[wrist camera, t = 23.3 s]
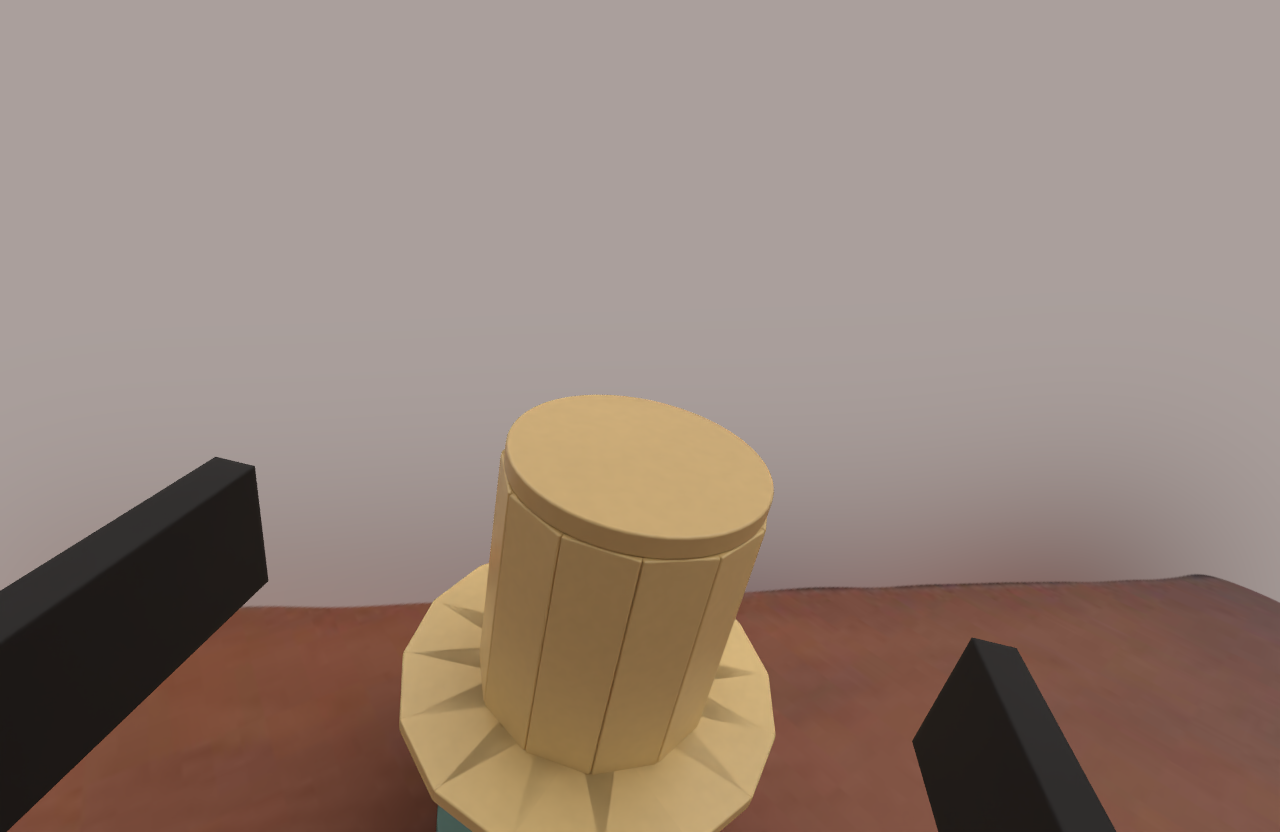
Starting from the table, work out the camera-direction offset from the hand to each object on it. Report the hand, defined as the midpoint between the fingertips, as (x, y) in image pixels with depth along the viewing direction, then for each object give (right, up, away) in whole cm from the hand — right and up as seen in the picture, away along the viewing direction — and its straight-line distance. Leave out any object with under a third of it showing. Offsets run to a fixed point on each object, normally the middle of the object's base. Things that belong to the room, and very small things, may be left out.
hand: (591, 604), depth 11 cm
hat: (-1, -7, +14) cm, 16 cm away
